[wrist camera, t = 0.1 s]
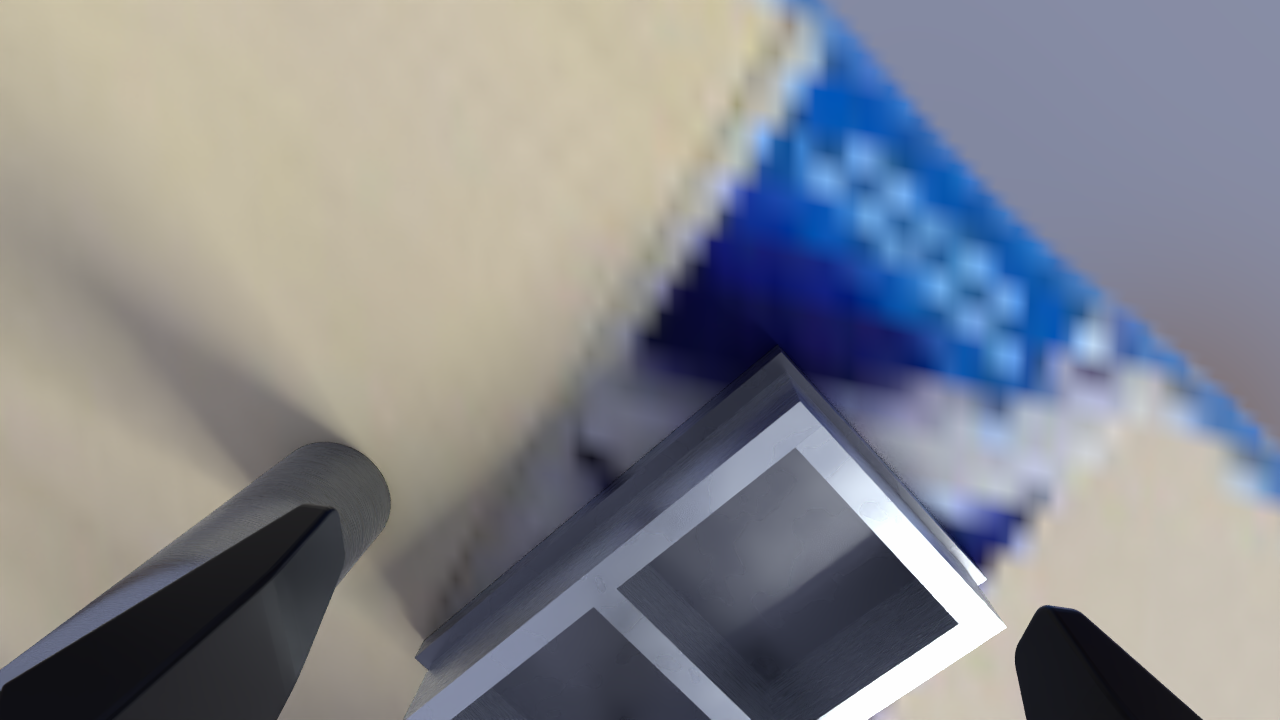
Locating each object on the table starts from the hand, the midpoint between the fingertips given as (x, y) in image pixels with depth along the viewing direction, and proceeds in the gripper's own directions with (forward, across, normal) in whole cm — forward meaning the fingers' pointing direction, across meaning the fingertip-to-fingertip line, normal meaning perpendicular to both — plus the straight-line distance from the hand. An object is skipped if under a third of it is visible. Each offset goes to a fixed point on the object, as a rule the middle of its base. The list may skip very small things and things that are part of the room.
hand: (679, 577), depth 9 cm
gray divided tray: (+12, -2, +14) cm, 19 cm away
